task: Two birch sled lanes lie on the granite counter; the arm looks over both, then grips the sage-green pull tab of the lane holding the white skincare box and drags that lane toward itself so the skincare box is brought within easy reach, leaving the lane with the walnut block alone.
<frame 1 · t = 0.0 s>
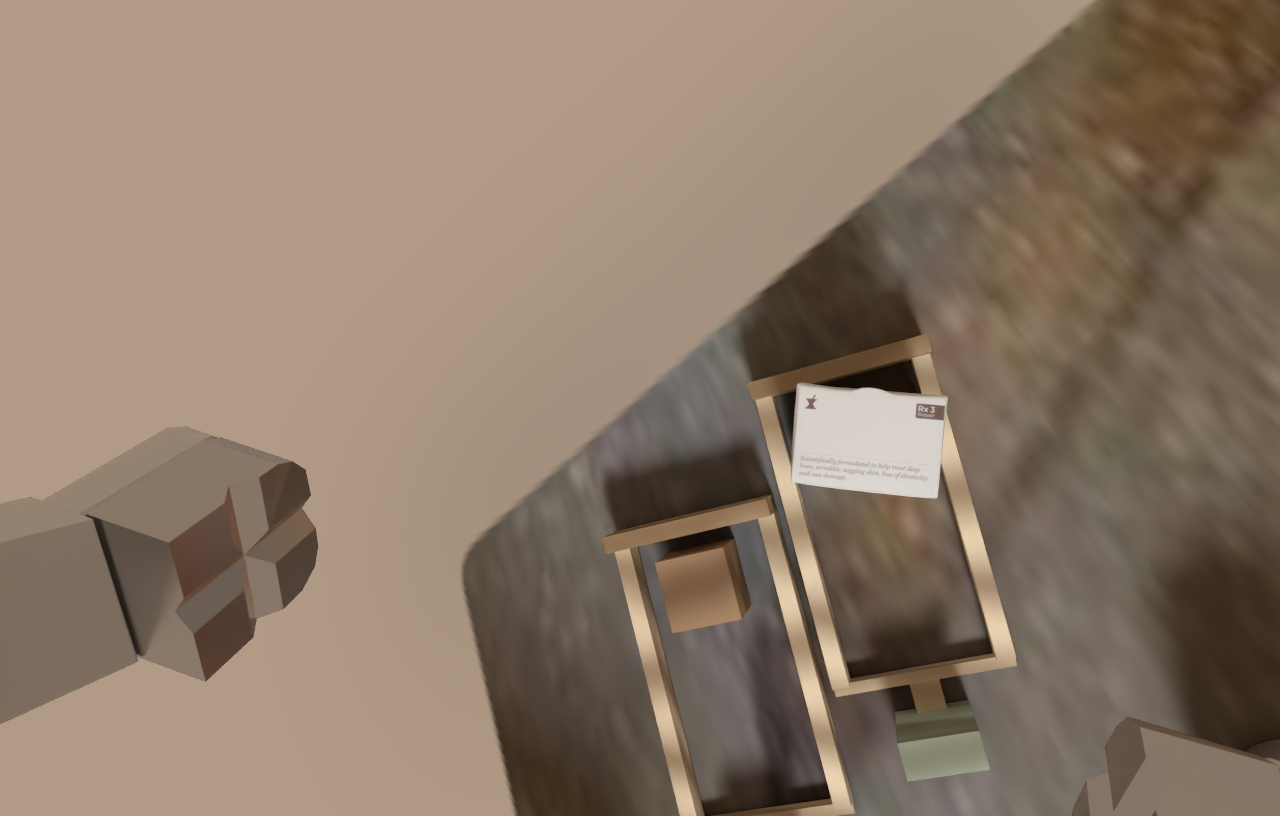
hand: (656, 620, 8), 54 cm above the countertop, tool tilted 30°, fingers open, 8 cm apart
lane B: (733, 706, 59), point 3 cm above the countertop, slide at 0.0 cm
lane A: (888, 554, 57), point 3 cm above the countertop, slide at 0.0 cm
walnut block: (710, 577, 63), resting in lane B
skincare box: (864, 438, 60), resting in lane A
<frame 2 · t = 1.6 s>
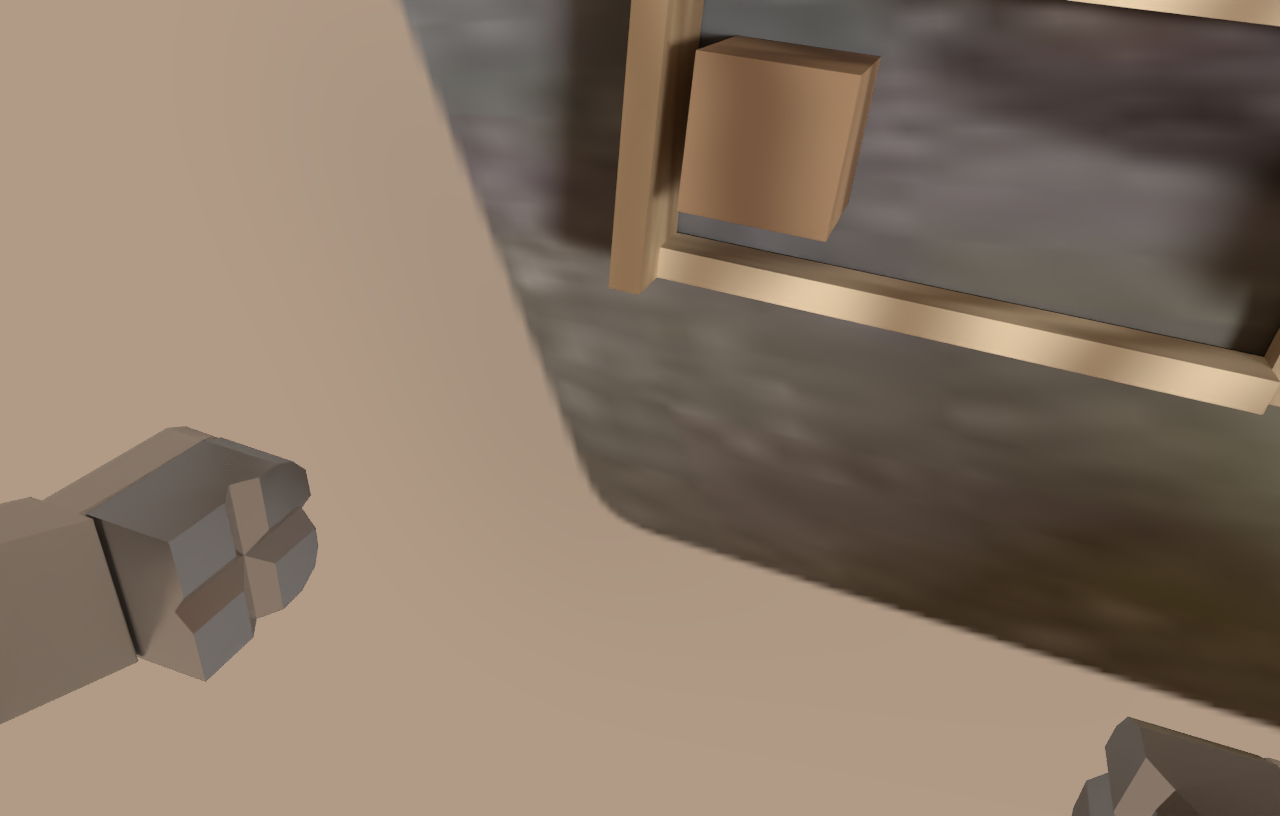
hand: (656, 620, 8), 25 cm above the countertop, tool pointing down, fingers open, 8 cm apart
lane B: (1053, 186, 25), point 3 cm above the countertop, slide at 0.0 cm
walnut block: (794, 120, 30), resting in lane B
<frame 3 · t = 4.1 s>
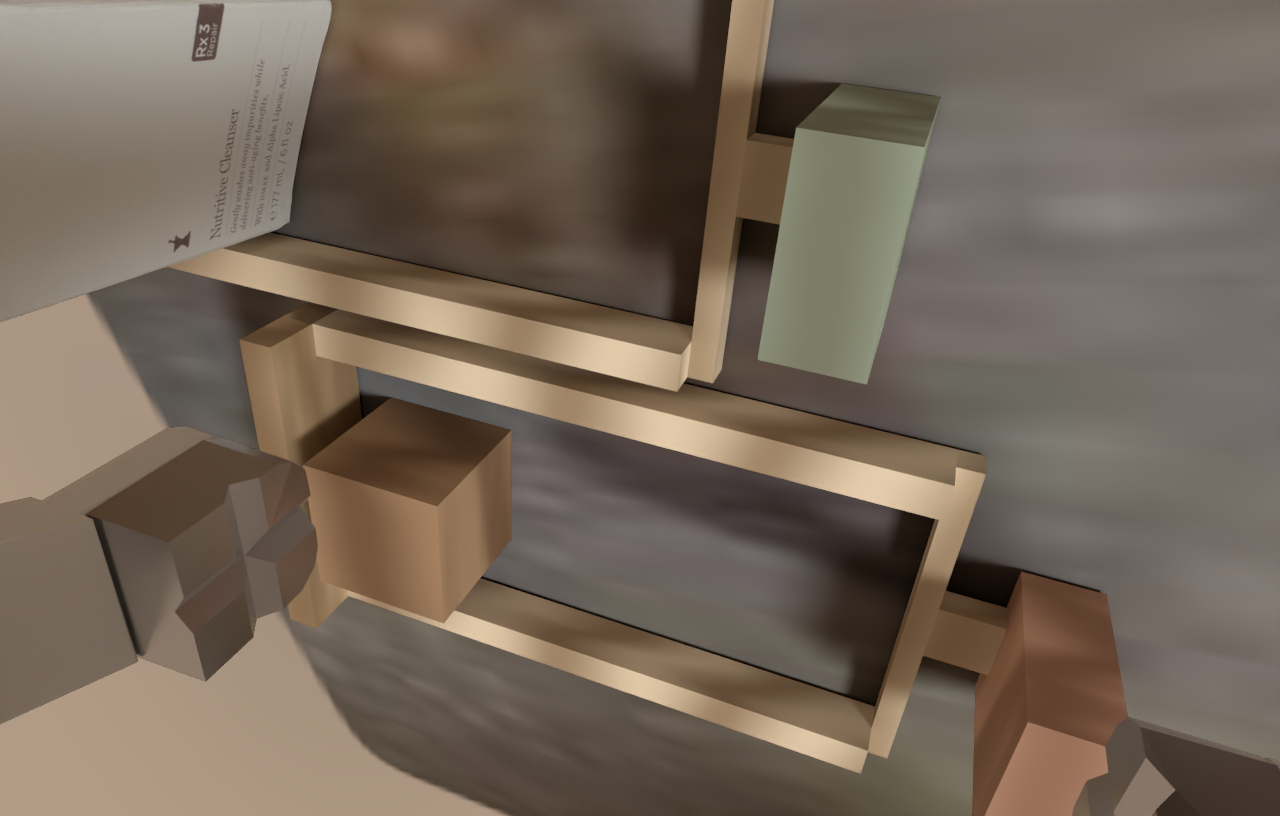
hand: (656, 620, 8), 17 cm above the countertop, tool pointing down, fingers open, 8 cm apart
lane B: (635, 587, 27), point 3 cm above the countertop, slide at 0.0 cm
lane A: (392, 139, 23), point 3 cm above the countertop, slide at 0.0 cm
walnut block: (453, 468, 32), resting in lane B
skincare box: (243, 68, 27), resting in lane A
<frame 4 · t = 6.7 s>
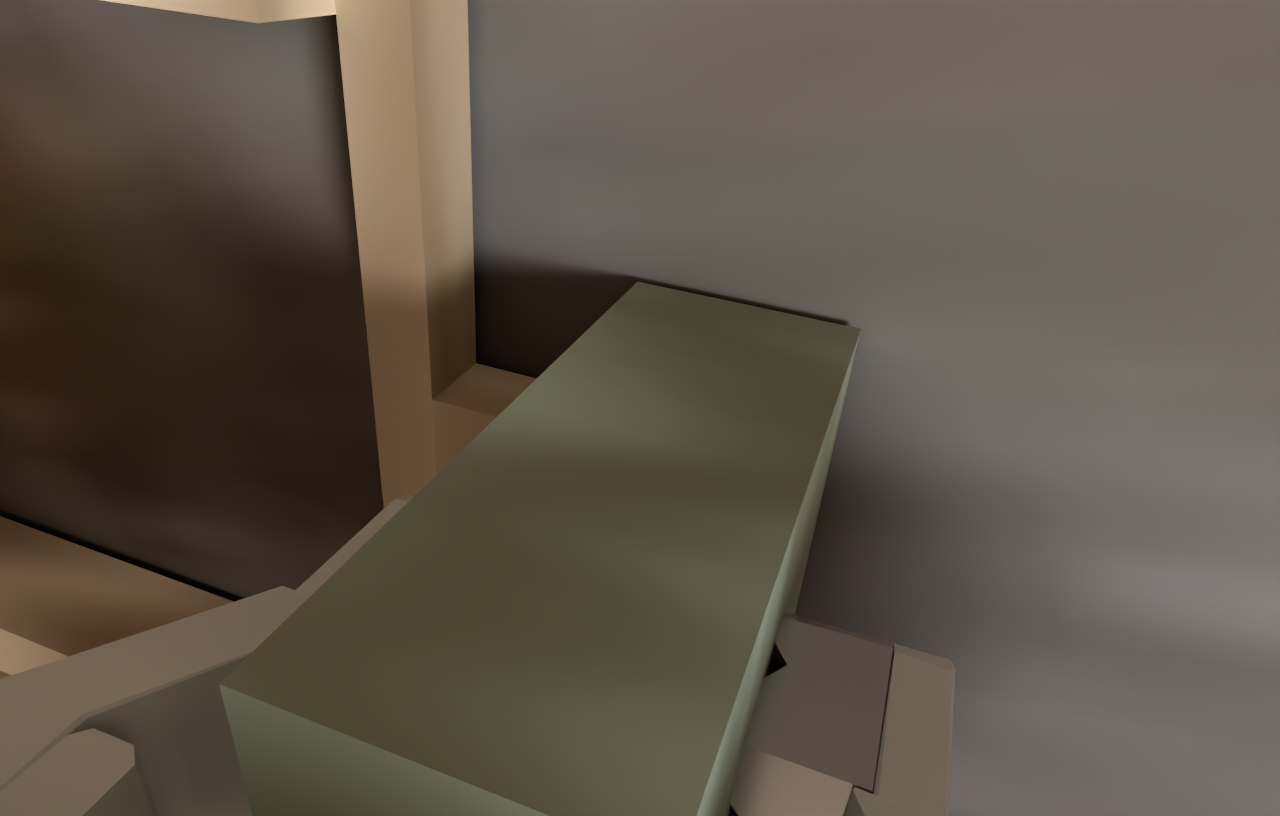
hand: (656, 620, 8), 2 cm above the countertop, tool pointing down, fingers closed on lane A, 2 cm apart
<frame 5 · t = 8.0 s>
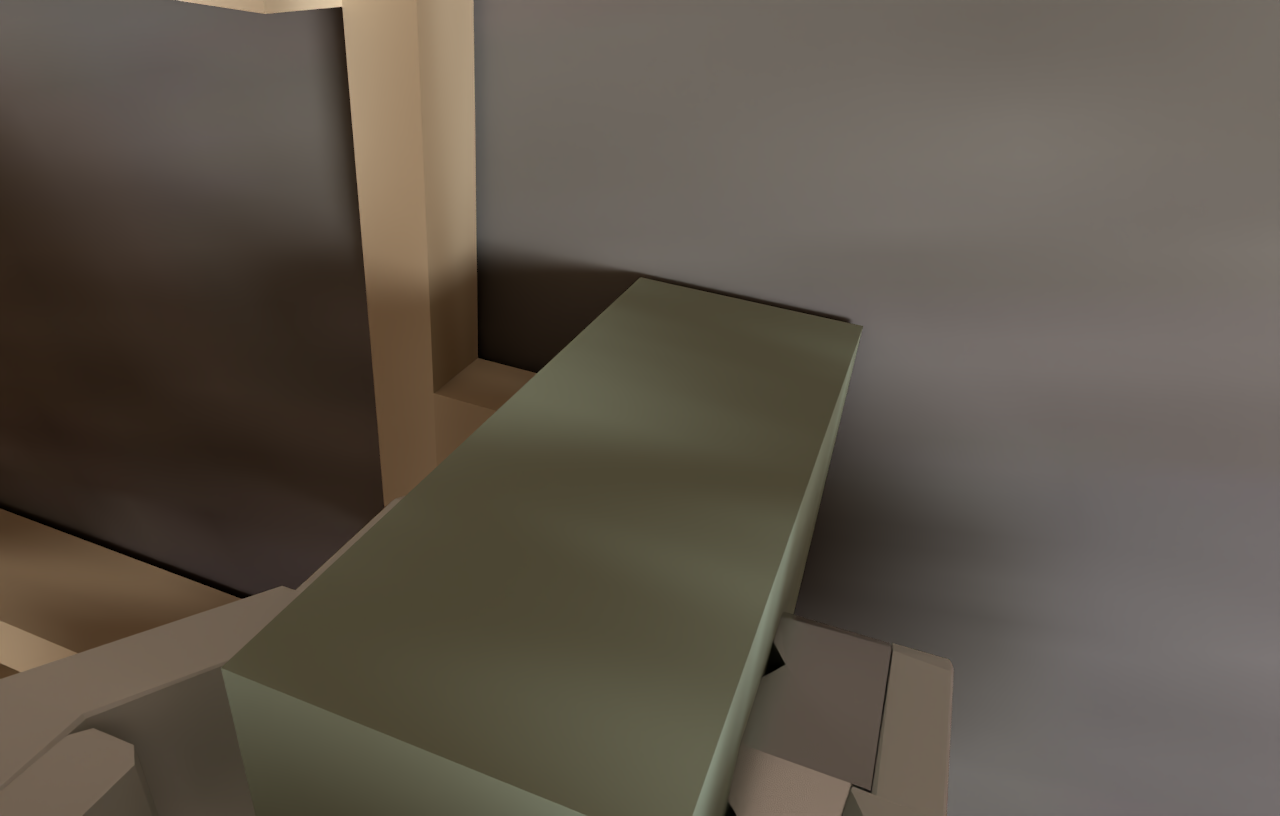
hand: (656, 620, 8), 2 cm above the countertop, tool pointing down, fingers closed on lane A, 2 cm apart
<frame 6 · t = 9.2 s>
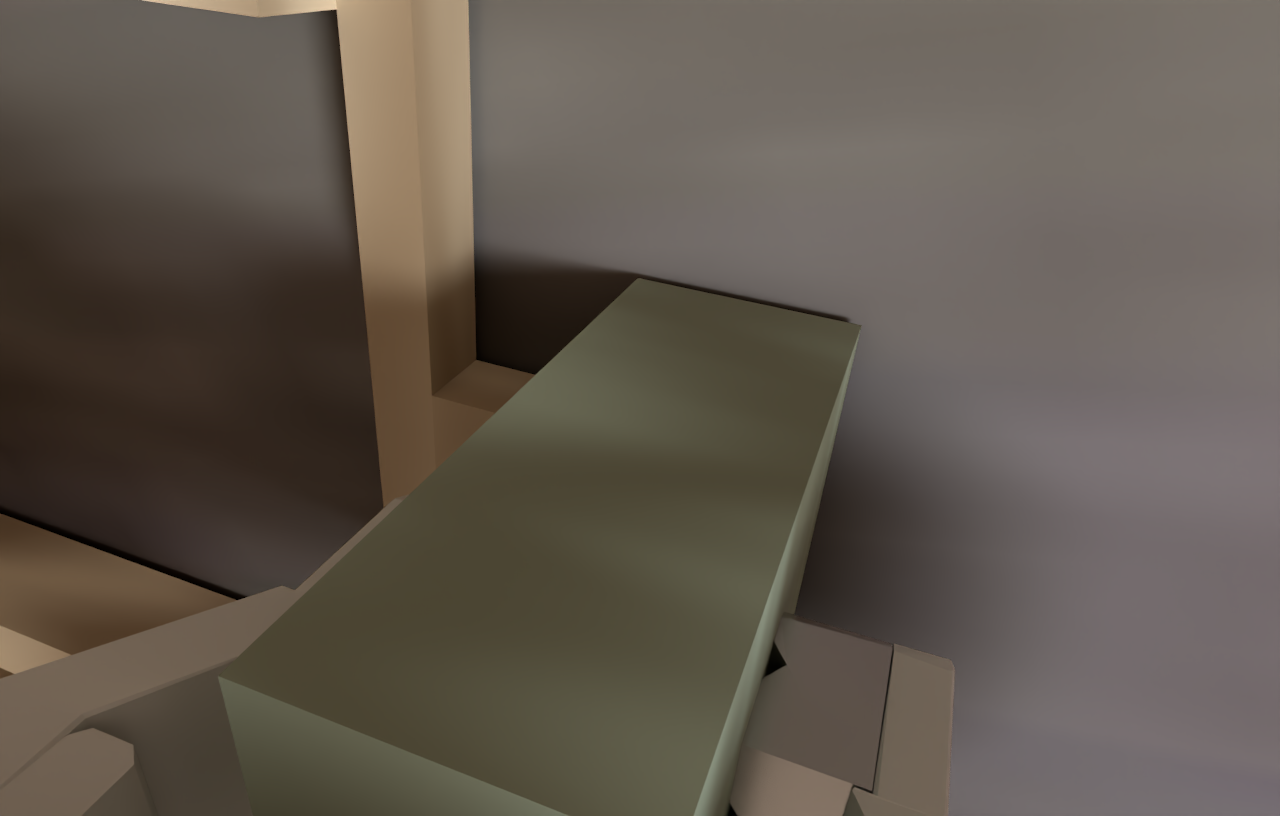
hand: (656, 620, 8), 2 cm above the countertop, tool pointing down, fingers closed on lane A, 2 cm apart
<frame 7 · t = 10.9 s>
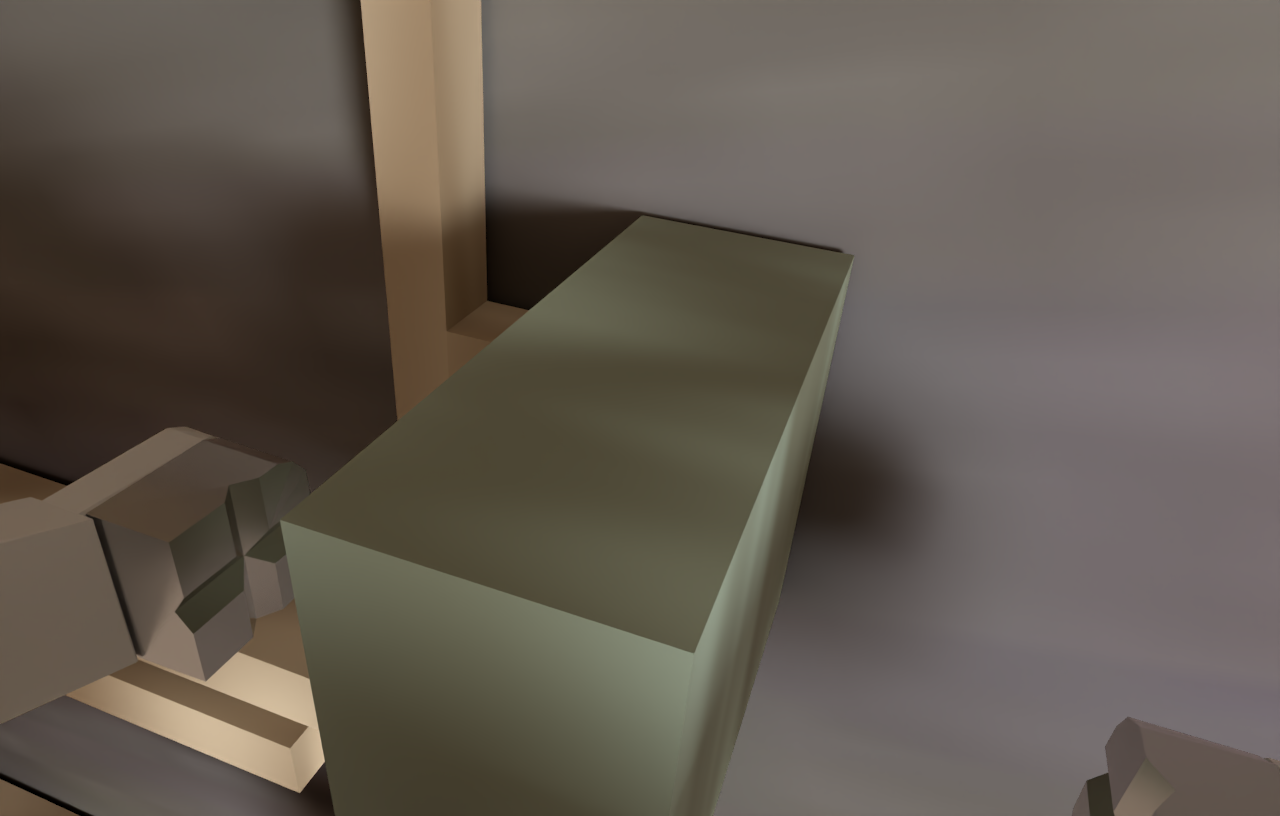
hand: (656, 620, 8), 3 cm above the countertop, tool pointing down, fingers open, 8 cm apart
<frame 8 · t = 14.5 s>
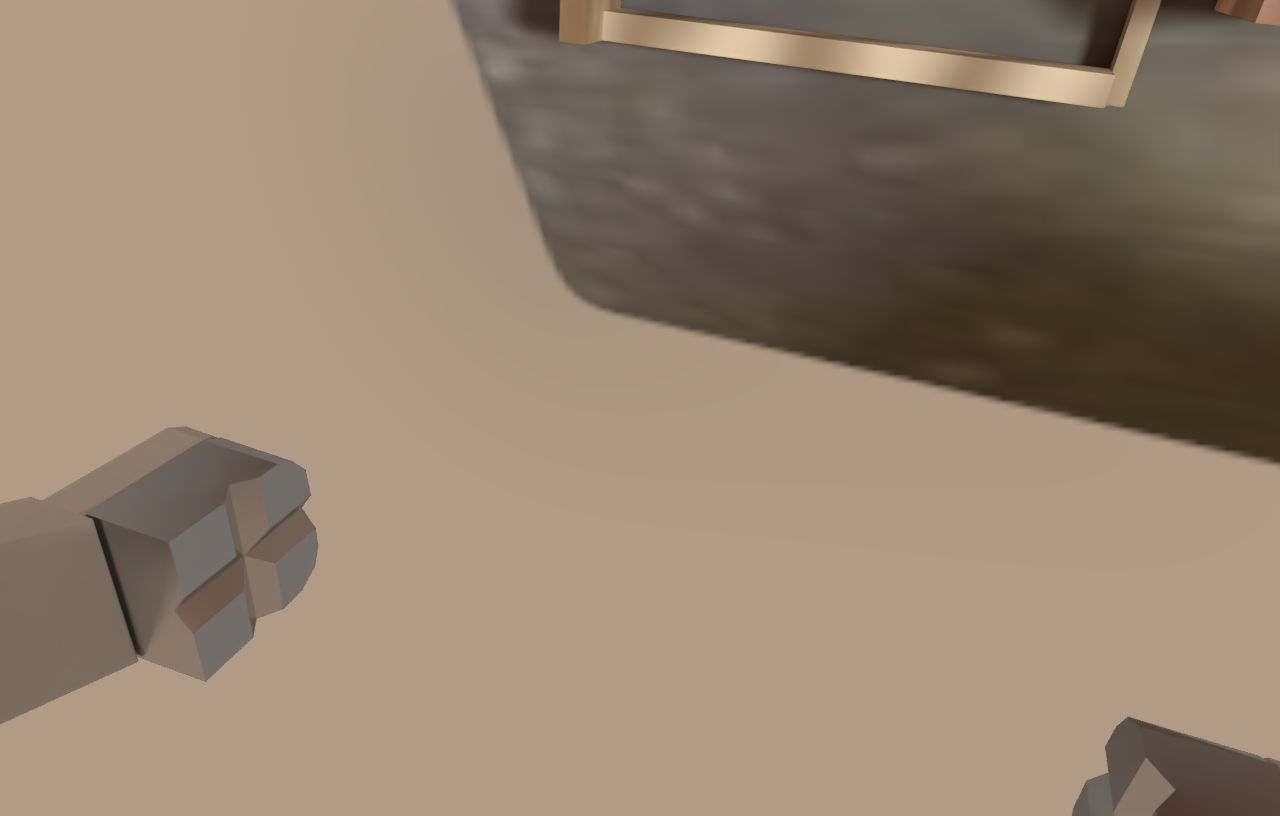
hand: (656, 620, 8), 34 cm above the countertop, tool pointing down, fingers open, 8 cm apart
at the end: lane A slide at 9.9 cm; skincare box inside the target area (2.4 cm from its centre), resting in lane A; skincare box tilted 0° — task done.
